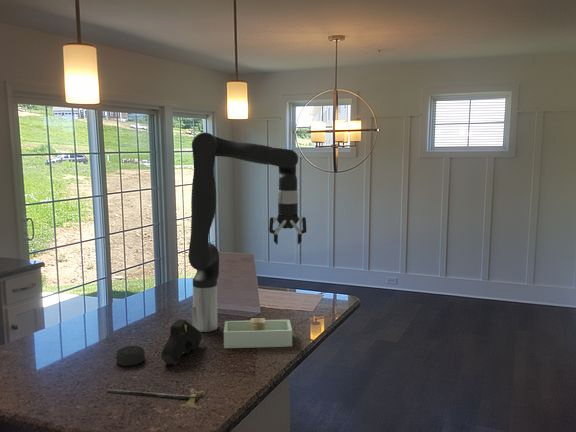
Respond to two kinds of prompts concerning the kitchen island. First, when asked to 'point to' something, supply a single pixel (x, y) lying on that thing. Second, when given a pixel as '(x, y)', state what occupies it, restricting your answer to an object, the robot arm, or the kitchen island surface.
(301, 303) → the kitchen island surface
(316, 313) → the kitchen island surface
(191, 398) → the decorative axe
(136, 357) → the smart speaker
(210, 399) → the kitchen island surface
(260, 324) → the block
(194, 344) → the taser
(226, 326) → the tub
